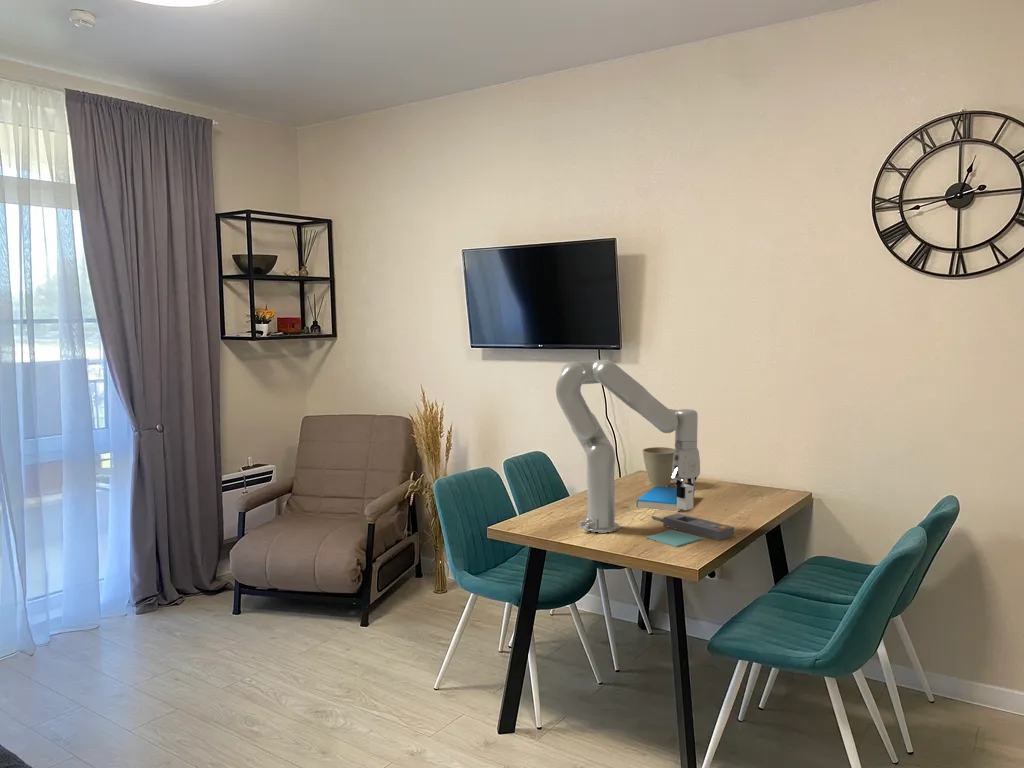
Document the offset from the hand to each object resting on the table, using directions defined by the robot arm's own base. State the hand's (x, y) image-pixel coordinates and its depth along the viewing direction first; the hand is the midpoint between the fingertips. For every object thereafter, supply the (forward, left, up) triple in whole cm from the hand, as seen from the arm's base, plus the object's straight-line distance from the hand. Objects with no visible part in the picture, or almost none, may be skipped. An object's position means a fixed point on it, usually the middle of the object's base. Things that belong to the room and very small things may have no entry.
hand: (685, 496), depth 263 cm
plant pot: (+42, +49, -11) cm, 66 cm away
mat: (-13, -6, -11) cm, 18 cm away
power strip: (0, -1, -11) cm, 11 cm away
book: (+22, +27, -12) cm, 37 cm away
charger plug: (0, 0, -4) cm, 4 cm away
